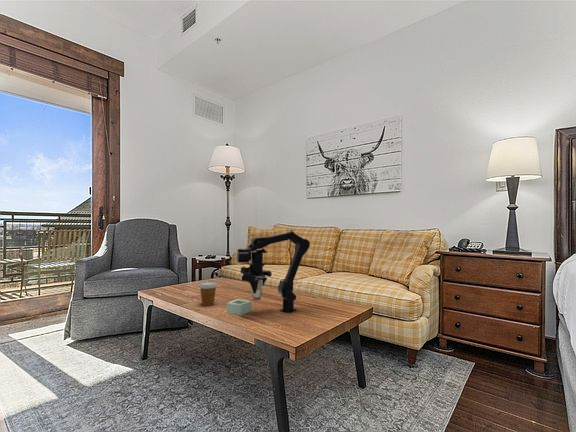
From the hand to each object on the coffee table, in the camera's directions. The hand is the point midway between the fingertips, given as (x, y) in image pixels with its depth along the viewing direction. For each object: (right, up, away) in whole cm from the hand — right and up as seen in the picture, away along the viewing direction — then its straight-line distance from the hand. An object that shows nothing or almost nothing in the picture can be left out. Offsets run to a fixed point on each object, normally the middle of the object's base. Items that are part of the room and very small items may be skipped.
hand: (257, 292), depth 156 cm
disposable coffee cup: (-29, -11, +17) cm, 36 cm away
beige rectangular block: (0, -4, 0) cm, 4 cm away
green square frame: (-10, -11, +3) cm, 15 cm away
